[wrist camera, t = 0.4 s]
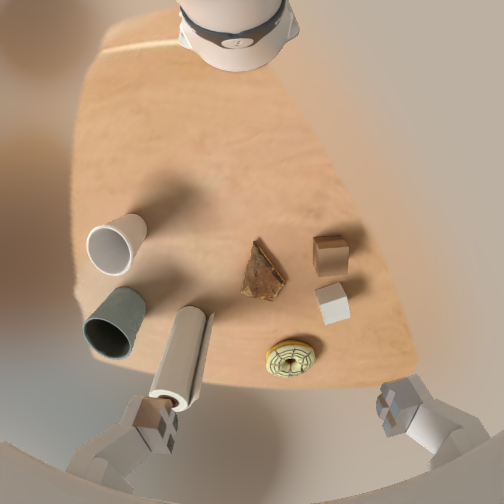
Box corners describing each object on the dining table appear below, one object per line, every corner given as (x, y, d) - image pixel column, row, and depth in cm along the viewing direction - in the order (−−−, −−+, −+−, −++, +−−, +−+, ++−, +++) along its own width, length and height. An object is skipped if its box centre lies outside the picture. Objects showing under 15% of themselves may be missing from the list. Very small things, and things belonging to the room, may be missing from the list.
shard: (253, 237, 47) (253, 241, 46) (296, 247, 48) (297, 252, 47) (239, 289, 52) (239, 295, 50) (278, 298, 53) (279, 303, 51)
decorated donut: (308, 368, 61) (310, 380, 57) (263, 368, 61) (263, 380, 57) (317, 337, 56) (320, 349, 53) (267, 336, 56) (268, 348, 53)
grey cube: (314, 289, 51) (319, 305, 47) (339, 281, 51) (346, 296, 46) (320, 309, 53) (325, 325, 49) (343, 301, 53) (350, 316, 48)
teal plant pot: (107, 313, 55) (85, 348, 44) (107, 276, 51) (80, 310, 40) (148, 327, 56) (131, 366, 45) (152, 291, 52) (131, 329, 41)
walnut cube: (313, 237, 47) (319, 249, 42) (340, 235, 47) (349, 246, 42) (312, 263, 49) (318, 276, 44) (339, 261, 49) (347, 274, 44)
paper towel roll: (175, 323, 55) (147, 405, 36) (179, 301, 53) (148, 385, 33) (208, 333, 56) (192, 418, 36) (215, 311, 53) (198, 399, 34)
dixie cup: (148, 256, 49) (127, 284, 40) (110, 240, 47) (83, 264, 38) (159, 215, 45) (137, 237, 36) (118, 199, 44) (89, 217, 35)
